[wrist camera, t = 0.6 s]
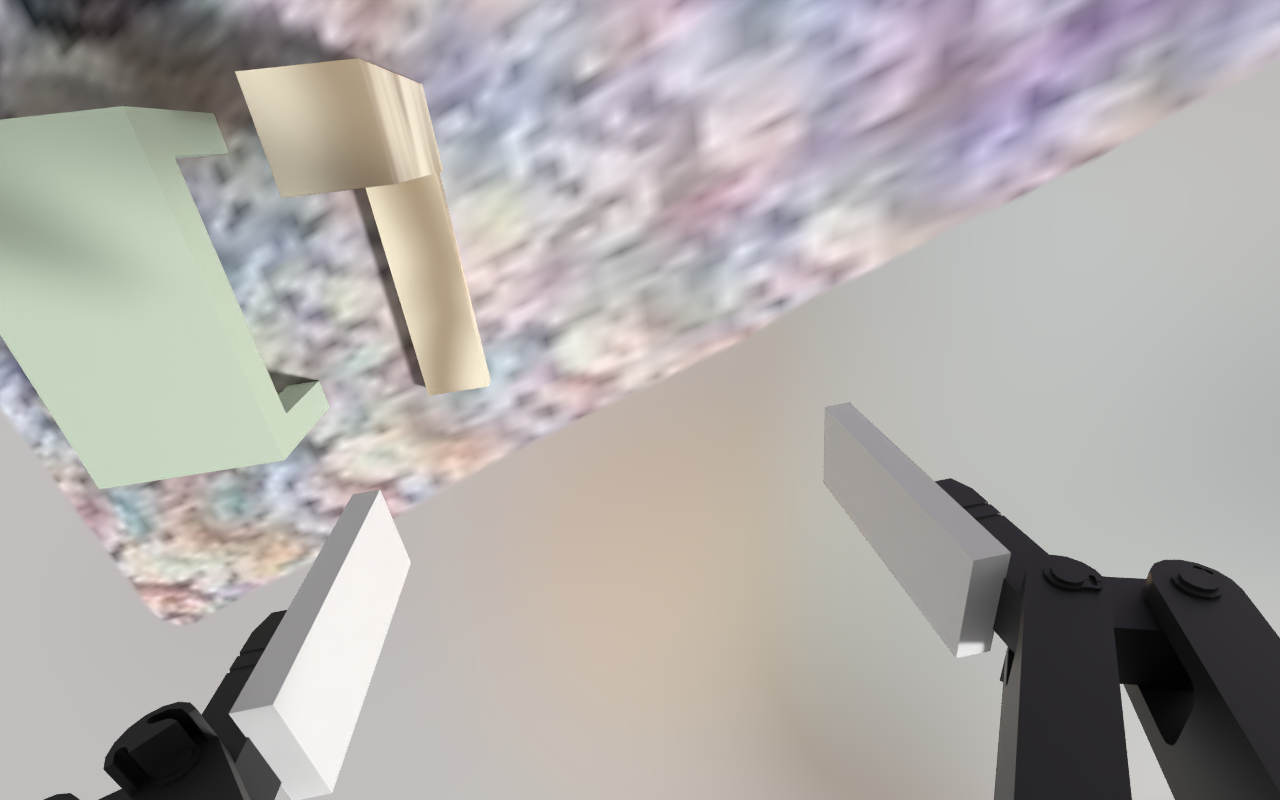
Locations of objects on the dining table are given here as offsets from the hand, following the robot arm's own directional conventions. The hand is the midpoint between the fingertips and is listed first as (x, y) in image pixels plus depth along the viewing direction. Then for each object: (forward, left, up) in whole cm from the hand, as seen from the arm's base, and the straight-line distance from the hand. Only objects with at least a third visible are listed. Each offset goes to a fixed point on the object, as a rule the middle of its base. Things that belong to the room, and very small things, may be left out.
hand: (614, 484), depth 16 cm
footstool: (-4, -23, -23) cm, 33 cm away
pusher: (-4, -9, -23) cm, 25 cm away
